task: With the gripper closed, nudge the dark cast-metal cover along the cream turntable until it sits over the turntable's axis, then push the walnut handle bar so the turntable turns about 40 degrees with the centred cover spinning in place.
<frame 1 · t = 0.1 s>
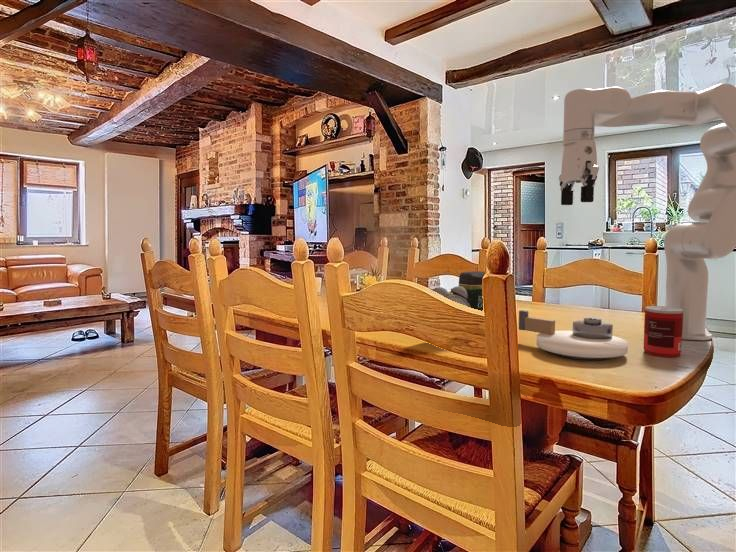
hand: (576, 203, 121), 37 cm above the table, tool pointing down, fingers open, 9 cm apart
alarm clock: (447, 341, 124), on the table
coffee jar: (475, 335, 132), on the table
canned food: (661, 354, 108), on the table
cover: (592, 335, 113), point 3 cm above the table, touching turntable
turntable: (567, 330, 112), point 5 cm above the table, hinge at 0.0°, touching cover
stand: (580, 352, 110), on the table
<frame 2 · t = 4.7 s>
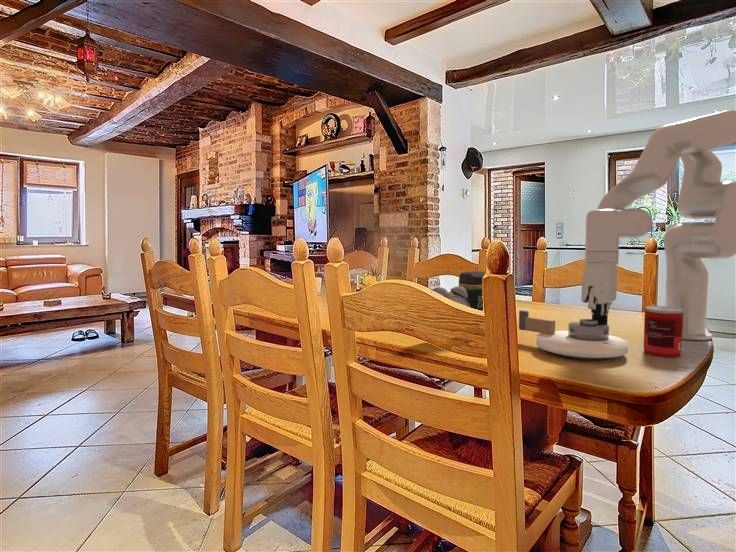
hand: (599, 329, 116), 4 cm above the table, tool pointing down, fingers closed
cover: (588, 337, 111), point 3 cm above the table, touching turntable
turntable: (567, 330, 112), point 5 cm above the table, hinge at -0.3°, touching cover
everything else where it was.
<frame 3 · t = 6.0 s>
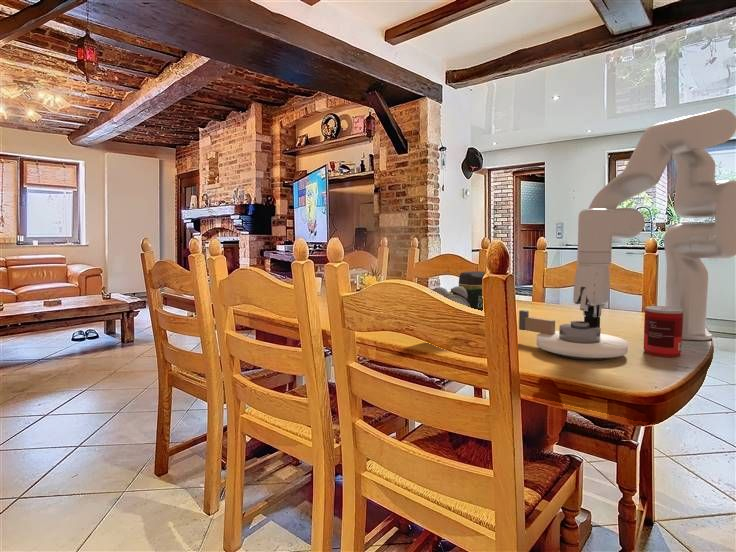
hand: (591, 332, 113), 4 cm above the table, tool pointing down, fingers closed
cover: (579, 339, 109), point 3 cm above the table, touching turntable
everything else where it was.
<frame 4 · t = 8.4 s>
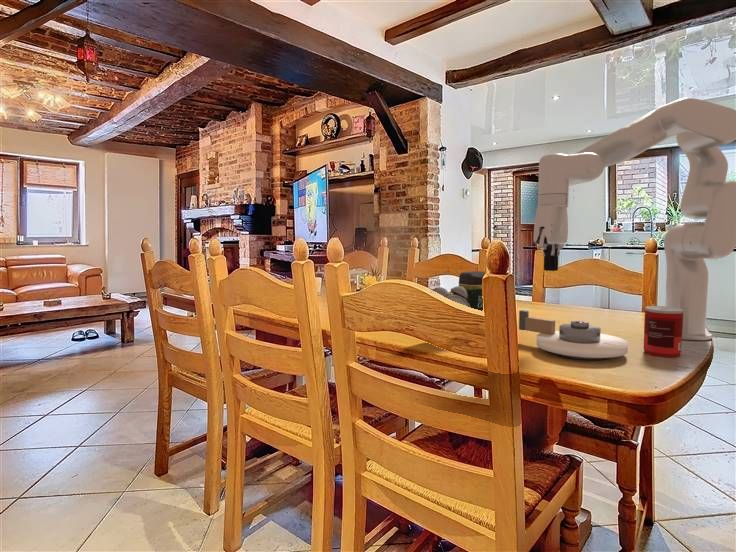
hand: (550, 270, 122), 19 cm above the table, tool pointing down, fingers closed
nothing on the table moved.
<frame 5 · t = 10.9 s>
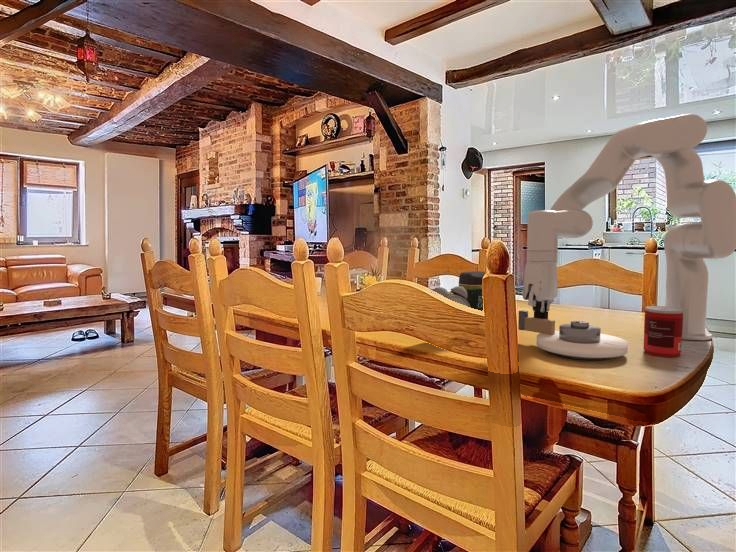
hand: (540, 326, 120), 4 cm above the table, tool pointing down, fingers closed
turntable: (567, 330, 112), point 5 cm above the table, hinge at 0.6°, touching cover, gripper
everything else where it was.
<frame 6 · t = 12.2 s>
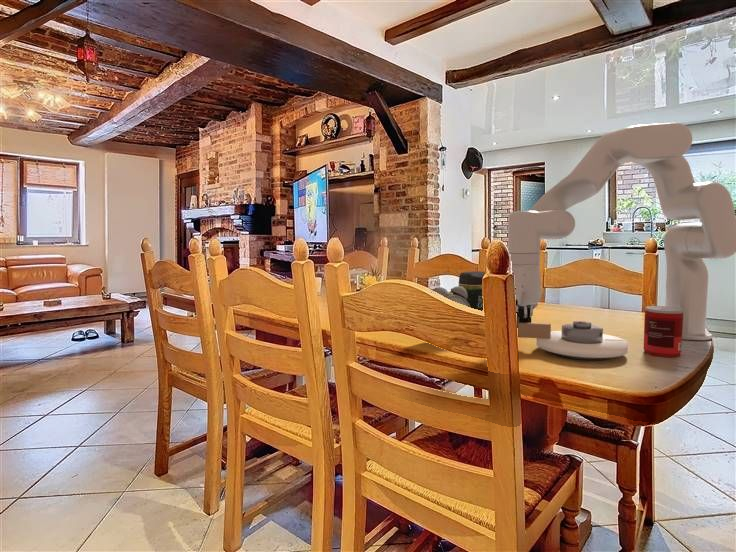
hand: (523, 331, 115), 4 cm above the table, tool pointing down, fingers closed
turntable: (565, 332, 110), point 5 cm above the table, hinge at 38.9°, touching cover, gripper
everything else where it was.
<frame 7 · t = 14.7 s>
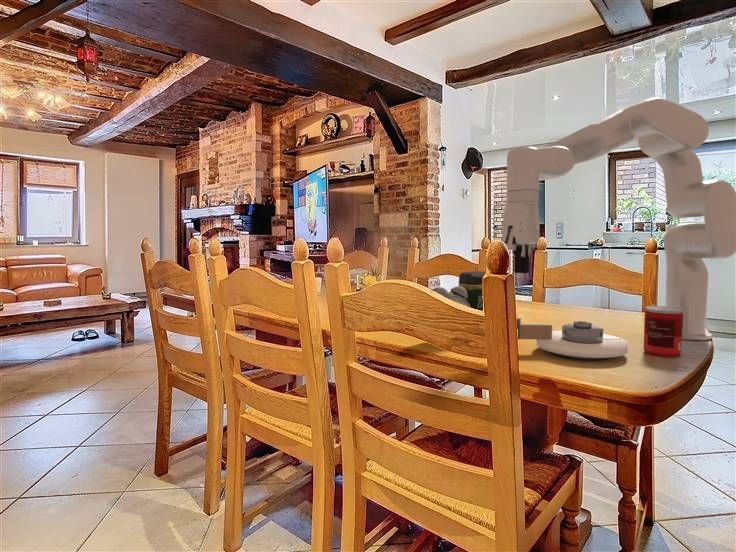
hand: (521, 272, 113), 19 cm above the table, tool pointing down, fingers closed
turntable: (566, 332, 110), point 5 cm above the table, hinge at 46.2°, touching cover
everything else where it was.
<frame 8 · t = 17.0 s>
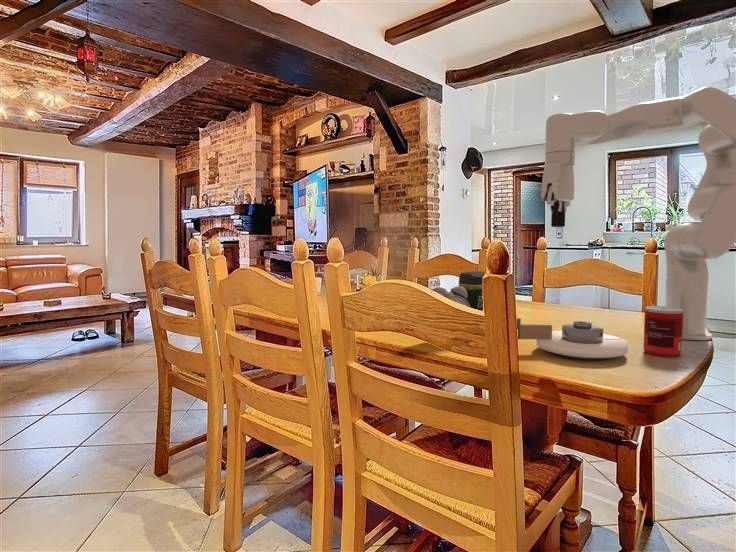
hand: (558, 226, 127), 31 cm above the table, tool pointing down, fingers closed
nothing on the table moved.
at the end: cover 0.7 cm from the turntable (horizontally); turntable at +46° (first picture: +0°); cover tilted 0° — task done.
